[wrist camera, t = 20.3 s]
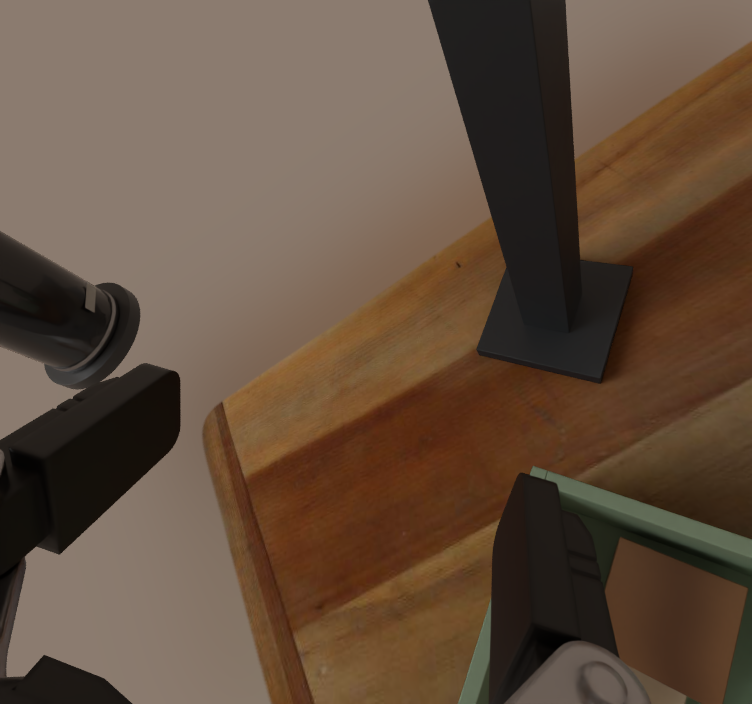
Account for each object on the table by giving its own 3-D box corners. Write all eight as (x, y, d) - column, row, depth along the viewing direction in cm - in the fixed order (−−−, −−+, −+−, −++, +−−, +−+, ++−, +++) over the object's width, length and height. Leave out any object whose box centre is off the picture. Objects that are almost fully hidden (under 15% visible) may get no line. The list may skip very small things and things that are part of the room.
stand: (479, 355, 34) (45, -455, 7) (514, 258, 36) (272, -660, 9) (600, 384, 30) (620, -1115, 3) (632, 274, 32) (804, -1232, 5)
